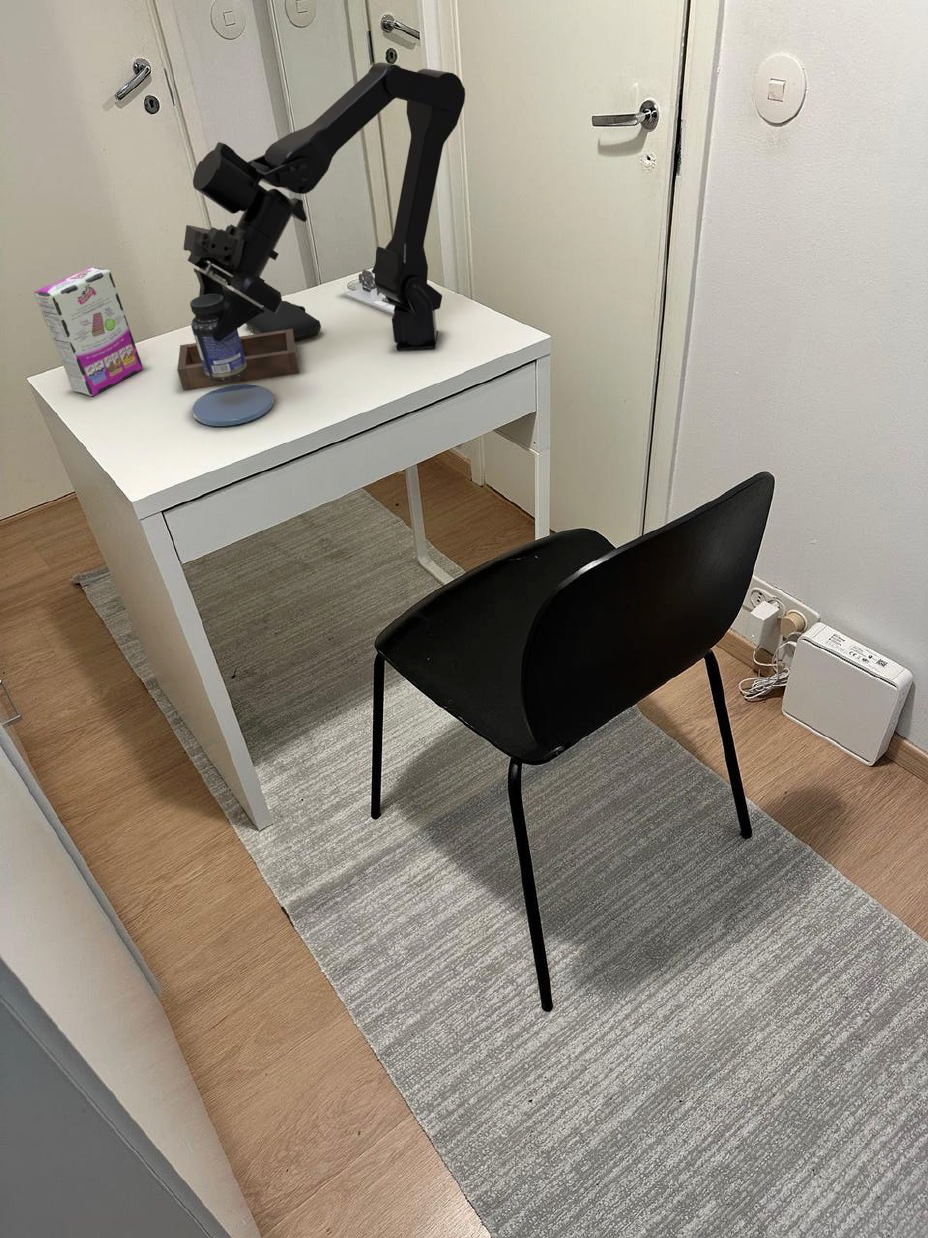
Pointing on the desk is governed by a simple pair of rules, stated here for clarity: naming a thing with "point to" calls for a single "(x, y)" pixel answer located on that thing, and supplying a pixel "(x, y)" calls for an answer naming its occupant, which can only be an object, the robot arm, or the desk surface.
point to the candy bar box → (89, 330)
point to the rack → (261, 354)
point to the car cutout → (370, 293)
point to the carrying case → (286, 321)
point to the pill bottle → (216, 356)
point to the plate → (233, 405)
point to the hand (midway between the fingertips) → (206, 333)
